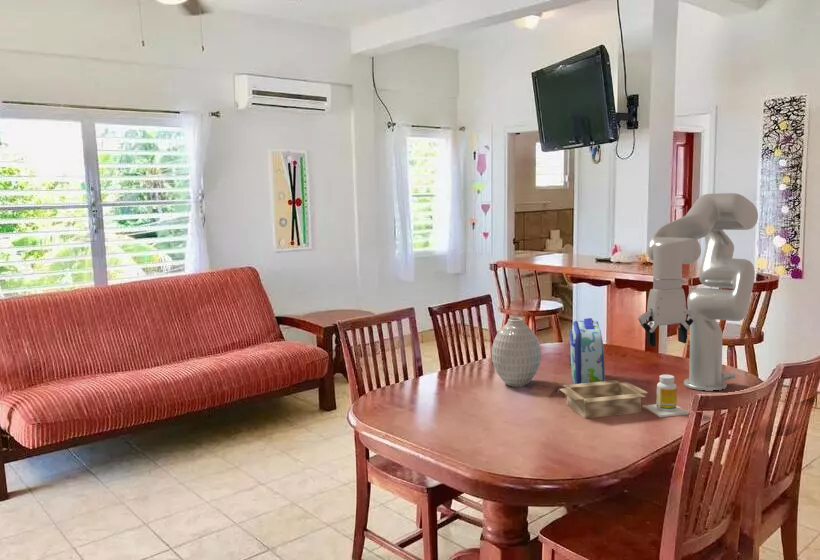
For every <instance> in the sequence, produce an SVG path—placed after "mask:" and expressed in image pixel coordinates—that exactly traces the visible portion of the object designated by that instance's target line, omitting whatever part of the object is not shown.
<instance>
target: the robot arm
mask: <svg viewBox="0 0 820 560" xmlns="http://www.w3.org/2000/svg"><path fill="white" fill-rule="evenodd" d="M758 213H759V212H758V209H757V206H756V205H755V204H754V202H752V201H750V200H749V199H748V198H747V197H746V196H744V195H742V194H739V193H735V192H732V193H731V192H729V193H727V192H721V193H706V194H703V195H700V196H699V197H698V198H697V199H696V201H695V202H694V203H693V205H692V206H691V208H690V209H688V211H687V213H686V214H685V215H683V216H682V217H680V218H677V219H675V220H673V221H671V222H668V223H665V224H664V225H663V226H661V227H660V228H658V229H657V231H655V233H654V234H653V235H652V237H651V239H650V241H649V242H648V245H647V255H648V256H647V257H648V258H649V259H650V261H652V262H653V264H652V266H653V268H652V271H653V272H652V273H653V275H652V276H653V277H652V278H653V280H652V281H653V282H652V283H653V284H652V288H650V290H649V292H648V297H647V305H646V306H647V307H646V312H644V313H642V314H641V315H639V316H638V317H637V319H638V322H639V323H640V326H641V327H642V328H643V329H644V331H646V343H647V345H649V346H651V347H656V339H657V337H656V332H655V330H656V329H657V327H658V326H670V325H678V326H679V327H677V328H678V329H677V334H678V335H677V341H678V342H679V343H682V344H687V342H688V340H687V339H688V330H689V365H688V367H689V370H688V377H687V378H686V379H684V380H683V385H684V386H685V387H686V388H689V389H692V390H696V391H702V390H705V391H704V392H714V391H713V390H719V391H723V390H725V389H726V388H727V386H728V384H727V382H726V381H727V380H732V379H735V378H736V373H734V372H728V373H727V372H726V371H723V370H722V369H723V336H724V335H723V331H722V328H721V326H720V324H719V322H717V320H719V321H730V322H731V321H732V322H740V321H743V320H744V319H745V318H746V316H747V315H748V311H749V307H750V301H751V298H752V297H751V296H752V292H753V288H754V282H755V278H756V277H755V275H756V273H755V266H754V264H753V263H752V261H750V260H749V259H745V258H733V256H734V251H735V245H734V243H733V240H732V239H731V238H730V237H729V236H728V234H726V232H725V230H726V231H729V230H731V231H736V230H737V231H740V230H741V231H748V230H752V229H753V228H754V227H755V226H757V224H758V223H757V222H758V220H759V214H758ZM702 238H704V241H705V242H704V243H705V249H704V252H703V257H702V260H701V261H702V262H701V265H700V268H699V269H700V270H699V276H698V277H699V278H698V279H699V282H700V283H701V284H702V285H703V286H706V287H699V288H694V289H693V290H691V291H690V292H689V293H688V295H687V298H686V294H685V290H684V288H683V285H685V284H686V279H685V278H683V274H682V273H683V265H691V264H694V263H696V262H697V261H698V260H699V258H700V256H701V254H702V246H701V244H700V243H699V241H698V240H699V239H702ZM709 287H710V288H709ZM686 299H687V300H686ZM687 315H688V316H687ZM647 322H648V323H647ZM722 389H723V390H722Z"/></svg>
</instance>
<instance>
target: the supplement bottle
mask: <svg viewBox="0 0 820 560" xmlns="http://www.w3.org/2000/svg"><path fill="white" fill-rule="evenodd" d="M677 390H678V387H677V384H676V383H675V376H674V375H672V374H661V375H659V382H658V383H657V384H656V404H657V408H658V409H659V410H662V411H674V410H676V406H677Z"/></svg>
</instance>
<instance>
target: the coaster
mask: <svg viewBox="0 0 820 560" xmlns="http://www.w3.org/2000/svg"><path fill="white" fill-rule="evenodd" d="M642 408H643V409H645V410H647V411H649V412H650V413H652V414H654V415H655V416H657V417H659V418H665V417H674V416H685V415H686V416H687V415H690V411H688V410H686V409H684V408H682V407H680V406H678V405H676V410H674V411H662V410H659V409H658V408H657V403H655V404H647V405H646V404H645V405H644V404H643V406H642Z"/></svg>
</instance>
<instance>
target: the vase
mask: <svg viewBox="0 0 820 560" xmlns="http://www.w3.org/2000/svg"><path fill="white" fill-rule="evenodd" d="M491 346H492V347H491V360H492V364H493V368H494V371H495V372H496V373H497V375H498V376H499V379H501V380H502V381H503V382H504V383H505V384H506V385H507V386H508V387H509V386H510V387H518V388H519V387H524V386H527V385H528V384H529V383H530V382H531V381H532V380H533V378H534V377H535V376H536V374H537V372H538V370H539V368H540V364H541V360H542V351H541V350H542V349H541V344H540V340H539V339H538V337H537V335H536V333H535V332H534V331H533V330H532V329H531V327H530V326H528V325H527V323H525V321H524V319H523V318H522V317H510V318H508V319H507V322H506V324H504V325H503V326H502V327H501V328H500V330H499V331H498V332H497V334H496V335H495V337H494V340H493V343H492V345H491Z"/></svg>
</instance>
